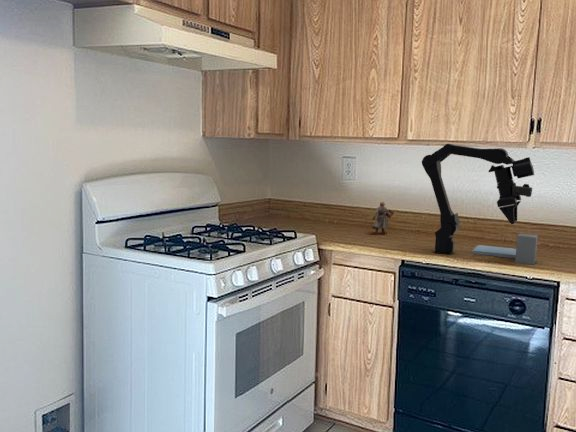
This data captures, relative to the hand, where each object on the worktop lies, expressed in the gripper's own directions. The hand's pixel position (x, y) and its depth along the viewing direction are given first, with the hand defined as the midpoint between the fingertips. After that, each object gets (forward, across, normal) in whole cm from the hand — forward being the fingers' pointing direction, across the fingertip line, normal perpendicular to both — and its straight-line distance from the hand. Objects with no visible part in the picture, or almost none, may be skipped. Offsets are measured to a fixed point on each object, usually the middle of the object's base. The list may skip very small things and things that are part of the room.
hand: (514, 222), depth 207 cm
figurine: (-3, +28, +62) cm, 68 cm away
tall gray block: (+15, 0, -1) cm, 15 cm away
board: (+12, +12, +9) cm, 19 cm away
